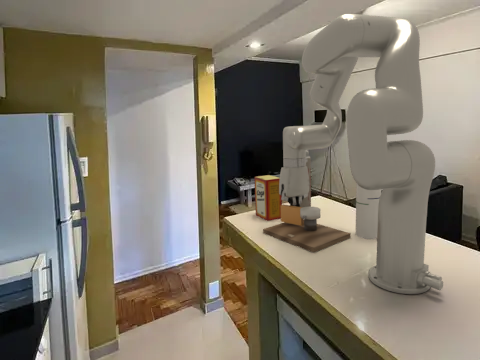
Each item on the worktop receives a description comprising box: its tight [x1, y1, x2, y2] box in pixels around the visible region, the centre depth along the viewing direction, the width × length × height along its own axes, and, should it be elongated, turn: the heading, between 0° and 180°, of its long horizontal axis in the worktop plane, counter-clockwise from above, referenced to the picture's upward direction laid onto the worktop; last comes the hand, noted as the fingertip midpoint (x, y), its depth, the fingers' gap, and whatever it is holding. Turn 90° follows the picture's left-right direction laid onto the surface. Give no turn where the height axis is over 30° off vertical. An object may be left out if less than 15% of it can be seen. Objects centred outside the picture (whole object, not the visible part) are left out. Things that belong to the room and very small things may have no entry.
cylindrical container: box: [355, 182, 382, 240], centre depth 99 cm, size 7×7×25 cm
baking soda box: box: [253, 174, 283, 222], centre depth 125 cm, size 10×6×16 cm
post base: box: [262, 219, 351, 253], centre depth 103 cm, size 22×17×6 cm
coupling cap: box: [280, 203, 321, 226], centre depth 107 cm, size 14×8×6 cm, turn 49°
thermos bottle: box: [300, 150, 312, 207], centre depth 128 cm, size 8×8×28 cm
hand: (295, 214), depth 112 cm, fingers closed
